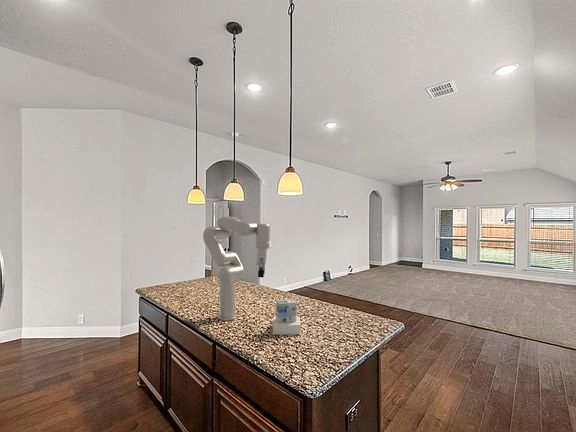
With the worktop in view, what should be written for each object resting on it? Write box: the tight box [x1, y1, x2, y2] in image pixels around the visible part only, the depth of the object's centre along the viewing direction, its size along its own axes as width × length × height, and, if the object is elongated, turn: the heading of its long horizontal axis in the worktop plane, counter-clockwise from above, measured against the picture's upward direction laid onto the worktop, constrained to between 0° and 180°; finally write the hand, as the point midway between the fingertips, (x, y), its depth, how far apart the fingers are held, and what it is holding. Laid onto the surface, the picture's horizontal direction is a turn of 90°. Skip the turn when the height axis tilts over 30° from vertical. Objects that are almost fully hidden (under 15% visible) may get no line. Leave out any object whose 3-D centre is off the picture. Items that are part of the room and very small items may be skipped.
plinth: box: [272, 316, 301, 335], centre depth 157 cm, size 13×15×5 cm
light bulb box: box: [275, 298, 297, 323], centre depth 158 cm, size 11×7×11 cm, turn 102°
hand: (261, 275), depth 160 cm, fingers open, 9 cm apart
